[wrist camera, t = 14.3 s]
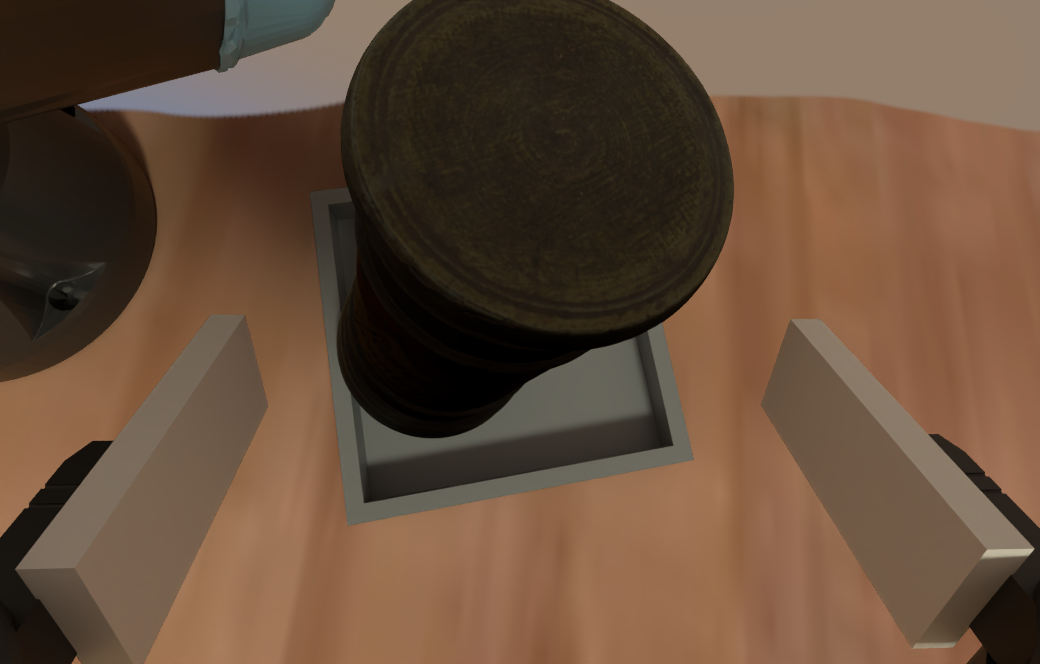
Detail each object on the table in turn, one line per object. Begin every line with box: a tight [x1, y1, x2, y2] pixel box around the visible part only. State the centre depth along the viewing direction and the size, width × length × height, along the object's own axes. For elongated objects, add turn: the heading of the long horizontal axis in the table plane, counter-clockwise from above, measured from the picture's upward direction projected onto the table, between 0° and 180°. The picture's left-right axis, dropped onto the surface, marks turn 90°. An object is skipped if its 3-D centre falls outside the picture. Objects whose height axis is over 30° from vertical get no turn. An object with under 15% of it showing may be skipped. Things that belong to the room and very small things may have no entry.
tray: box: [310, 187, 694, 525], centre depth 29 cm, size 16×16×2 cm
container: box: [337, 0, 734, 438], centre depth 20 cm, size 9×9×18 cm
